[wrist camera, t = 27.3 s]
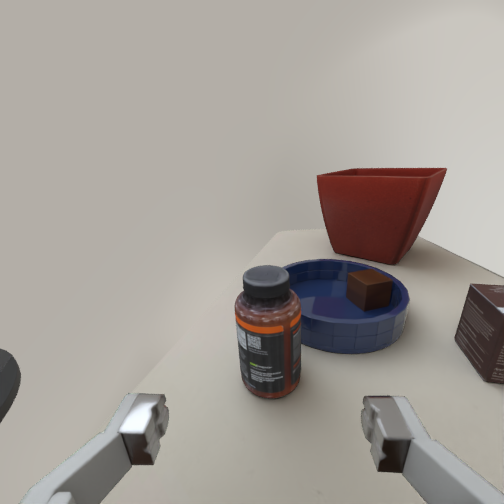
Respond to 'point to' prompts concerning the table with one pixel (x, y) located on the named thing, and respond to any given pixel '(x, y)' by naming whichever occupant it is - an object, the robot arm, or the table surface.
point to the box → (483, 330)
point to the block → (369, 289)
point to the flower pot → (377, 209)
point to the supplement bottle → (269, 332)
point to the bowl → (343, 308)
